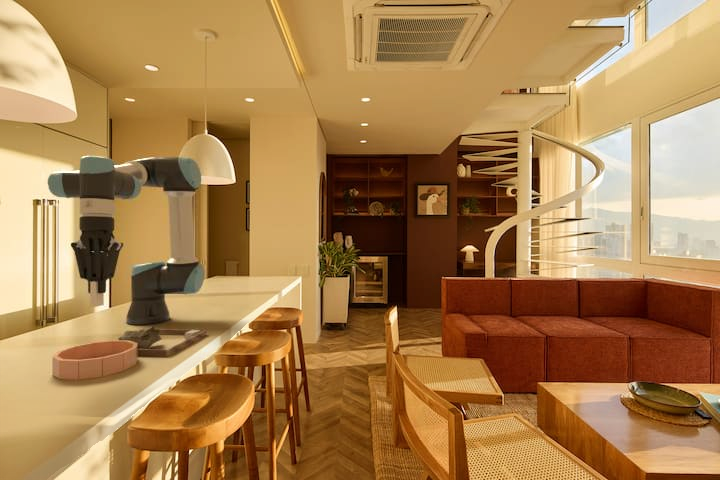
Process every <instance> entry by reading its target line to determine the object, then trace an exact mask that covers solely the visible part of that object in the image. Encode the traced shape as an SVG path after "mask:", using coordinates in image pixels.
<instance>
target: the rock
mask: <svg viewBox="0 0 720 480" xmlns="http://www.w3.org/2000/svg"><path fill="white" fill-rule="evenodd" d="M158 329H159V328H155V326H151V327H148V328H147V327H146V328H143V329H140V330H126V331H124V334H123V335H121V336H120V337H119V338H117V340H128V341H132V342H135V343H138V349H150V347H152V345H154V344H156V343H157V342H160V341H161V340H162V339H163V337H161V334H158V333H159V332H160V330H158Z"/></svg>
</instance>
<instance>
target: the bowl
mask: <svg viewBox="0 0 720 480" xmlns="http://www.w3.org/2000/svg"><path fill="white" fill-rule="evenodd" d="M138 357H139V356H138V343H135V342H132V341H128V340H118V339H112V340H102V341H93V342H88V343H83V344H78V345H73V346H70V347H67V348H65V349H62V350H59V351H57V352H56V353H55V354H53V356H52V358H51V359H52V360H51V361H52V362H51V363H52V371H51V372H52V374H51V375H52V376H53V377H55V378H56V379H58V380H71V381H72V380H75V381H77V380H78V381H79V380H88V379H95V378H101V377H102V378H103V377H106V376H110V375H113V374H116V373H120V372H124V371H126V370H128V369H130V368H131V367H134V366H136V365H137V363H138V359H139V358H138Z"/></svg>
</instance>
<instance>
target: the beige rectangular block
mask: <svg viewBox="0 0 720 480" xmlns="http://www.w3.org/2000/svg"><path fill="white" fill-rule="evenodd" d="M190 330H191V331H188V332H186V333H185V335H184V339H185V340H187V339H189V338H191V337H193V336H195V335H197V334H198V333H200V330H201V329H190Z"/></svg>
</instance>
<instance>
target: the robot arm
mask: <svg viewBox="0 0 720 480" xmlns="http://www.w3.org/2000/svg"><path fill="white" fill-rule="evenodd" d="M201 174H202V173H201V169H200V168H199V165H198V163H197V162H196V160H194V159H193V158H191V157H183V156H179V157H178V156H174V157H173V156H172V157H171V156H169V157H167V156H166V157H165V156H163V157H162V156H161V157H159V156H154V157H146V158H145V157H144V158H139V159H135V160H129V161H126V162H124V163H123V164H120V165H116V164H115V162H114V160H113V159H112V158H109V157H105V156H98V155H86V156H85V155H84V156H82V157H81V158H80V161H79V170H74V171H73V170H71V171H69V170H67V171H66V170H61V171H60V170H59V171H54V172H53V171H52V173H50V174H49V176H48V178H47V187H48V190H49V192H50V193H51V194H52V195H53V196H54V197H57V198H66V199H70V198H71V199H72V198H74V199H75V198H77V199H78V198H79V214H80V215H82V216H80V217H79V227H78V229H79V231H81V234H80V236H79V239H78V240H77V241H75V242H71V243H70V247H71V248H72V250H73V252H74V256H75V261H76V265H77V268H78V269H77V270H78V274H79V278H80V279H84V280H86V281H87V292H88V294H90V296H89V299H90V300H89V301H90V305H89V306H90V308H94V307H95V308H97V307H101V306H104V298H105V296H104V295H105V293H106V292H107V280H109V279H113V278H114V277H115V273H116V269H117V265H118V260H119V255H120V252H121V251H122V248H123V247H124V243H123V242H119V241H117V240H116V239H115V235H114V231H115V218H114V217H113V216H114V215H116V214H115V199H121V200H133V199H135V198H137V197H138V196H140V193H141V192H142V187H147V188H148V187H149V188H162V191H163V193H164V194H165V196H167V203H168V205H167V206H168V225H169V227H168V229H169V230H168V231H169V250H170V252H169V253H170V257H169V259H167V260H166V263H165V261H158V262H157V261H156V262H148V263H142V264H141V263H140V264H134V265H133V266H132V268H131V273H130V274H131V275H130V279H131V283H130V285H131V288H130V289H131V290H130V291H131V304H130V306H129V308H128V311H127V314H126V316H125V317H126V319H125V320H126V321H125V323H126V324H128V325H149V324H150V325H152V324H159V323H161V322H167V321H168V320H169V319H170V314H171V313H170V311H169V307H168V305H167V303H166V295H194V294H197V293H199V292H200V290H201V289H202V286H203V284H204V280H205V274H206V273H205V271H206V270H205V268H204V265H203V264H202V265H201V264H199V259H198V258H197V257H196V256H195V246H194V245H195V240H194V238H195V237H194V215H193V212H194V211H193V196H194V195H196V194H197V189H199V188H200V187H201V185H202V175H201Z"/></svg>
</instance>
